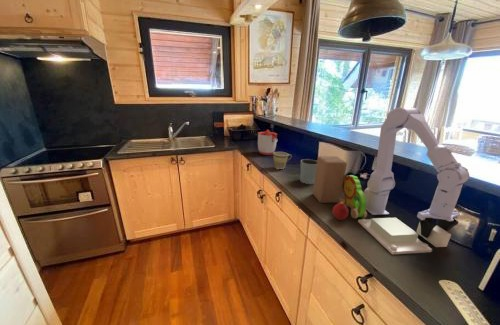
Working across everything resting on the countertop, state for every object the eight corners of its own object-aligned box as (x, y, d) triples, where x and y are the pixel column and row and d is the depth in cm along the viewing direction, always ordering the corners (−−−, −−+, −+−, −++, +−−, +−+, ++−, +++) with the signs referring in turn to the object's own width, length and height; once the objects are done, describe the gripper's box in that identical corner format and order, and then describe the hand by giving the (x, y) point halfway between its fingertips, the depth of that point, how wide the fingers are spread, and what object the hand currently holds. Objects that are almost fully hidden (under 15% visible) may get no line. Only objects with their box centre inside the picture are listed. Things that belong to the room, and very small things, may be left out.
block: (340, 203, 98) (348, 162, 92) (319, 203, 97) (325, 162, 91) (331, 193, 107) (337, 155, 101) (311, 193, 107) (317, 155, 101)
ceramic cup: (275, 170, 136) (276, 156, 133) (270, 165, 146) (271, 151, 143) (293, 170, 139) (295, 155, 136) (287, 165, 149) (289, 151, 146)
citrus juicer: (269, 157, 164) (271, 132, 158) (253, 153, 175) (254, 129, 169) (281, 154, 175) (283, 130, 169) (264, 150, 186) (266, 127, 180)
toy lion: (366, 220, 86) (375, 185, 81) (354, 220, 85) (361, 185, 80) (346, 201, 101) (352, 171, 96) (335, 201, 100) (340, 171, 95)
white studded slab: (358, 221, 84) (360, 212, 83) (390, 220, 86) (392, 211, 84) (392, 254, 67) (395, 244, 66) (431, 251, 69) (435, 241, 68)
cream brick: (415, 232, 79) (419, 221, 77) (425, 232, 79) (429, 220, 78) (435, 247, 71) (440, 234, 70) (446, 246, 72) (451, 234, 70)
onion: (342, 215, 88) (346, 198, 85) (349, 223, 82) (353, 205, 80) (329, 215, 88) (332, 198, 85) (334, 223, 82) (338, 205, 80)
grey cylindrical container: (312, 186, 115) (315, 165, 112) (295, 181, 121) (297, 161, 117) (319, 180, 123) (321, 161, 119) (302, 176, 129) (305, 157, 125)
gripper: (436, 208, 66) (423, 244, 70) (476, 206, 68) (461, 242, 72) (416, 197, 72) (406, 231, 77) (453, 196, 74) (441, 229, 79)
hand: (431, 235), depth 75 cm, fingers open, 5 cm apart
